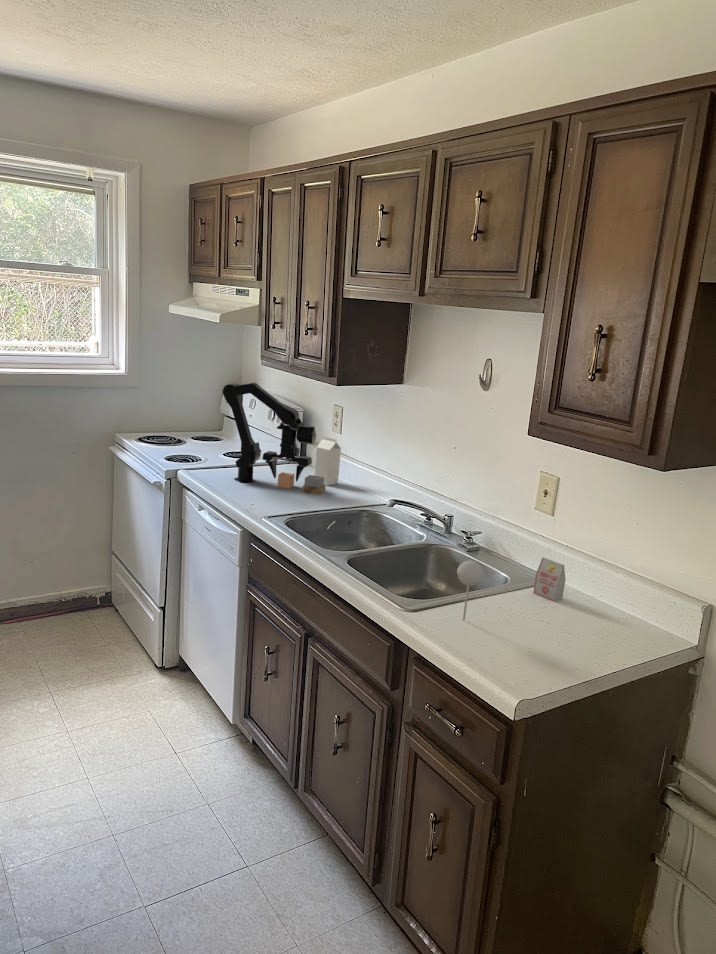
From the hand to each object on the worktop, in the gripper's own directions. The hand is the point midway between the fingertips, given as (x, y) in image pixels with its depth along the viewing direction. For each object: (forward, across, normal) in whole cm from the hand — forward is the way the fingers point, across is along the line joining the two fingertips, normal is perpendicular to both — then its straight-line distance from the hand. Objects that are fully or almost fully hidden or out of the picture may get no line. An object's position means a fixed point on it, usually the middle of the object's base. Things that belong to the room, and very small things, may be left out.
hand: (285, 479), depth 284 cm
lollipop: (+3, -82, +99) cm, 129 cm away
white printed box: (+3, -102, +73) cm, 125 cm away
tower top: (0, -12, +2) cm, 12 cm away
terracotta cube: (+3, 0, 0) cm, 3 cm away
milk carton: (+3, -12, -14) cm, 19 cm away
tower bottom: (+3, -12, +2) cm, 13 cm away
